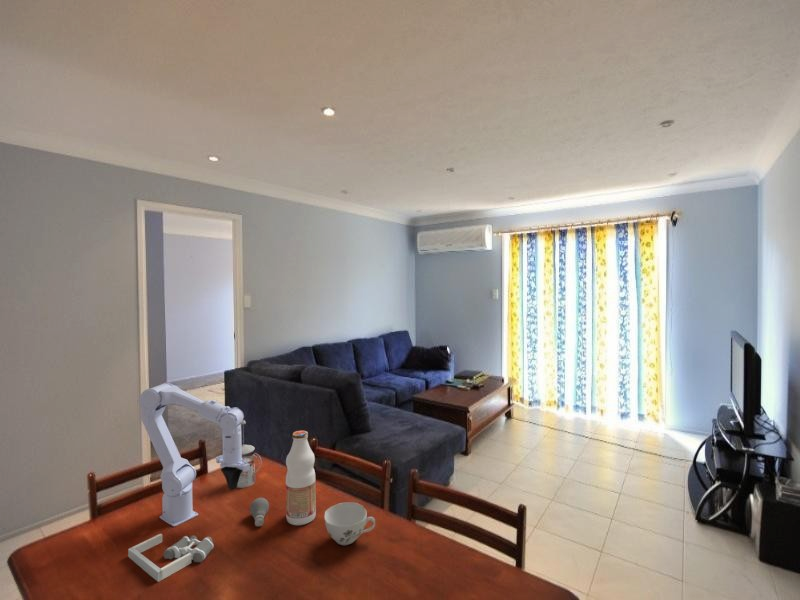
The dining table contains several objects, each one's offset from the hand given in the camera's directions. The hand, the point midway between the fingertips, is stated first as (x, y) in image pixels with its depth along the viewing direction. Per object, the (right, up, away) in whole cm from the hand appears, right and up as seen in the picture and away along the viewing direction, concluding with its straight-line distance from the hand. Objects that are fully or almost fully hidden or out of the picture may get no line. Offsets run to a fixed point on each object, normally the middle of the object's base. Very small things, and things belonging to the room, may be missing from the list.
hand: (232, 488), depth 129 cm
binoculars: (-5, -11, -16) cm, 20 cm away
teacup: (+40, -10, -11) cm, 43 cm away
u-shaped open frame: (-12, -10, -20) cm, 25 cm away
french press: (-5, -10, +23) cm, 25 cm away
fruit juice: (+22, -10, 0) cm, 24 cm away
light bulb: (+11, -9, -6) cm, 15 cm away
